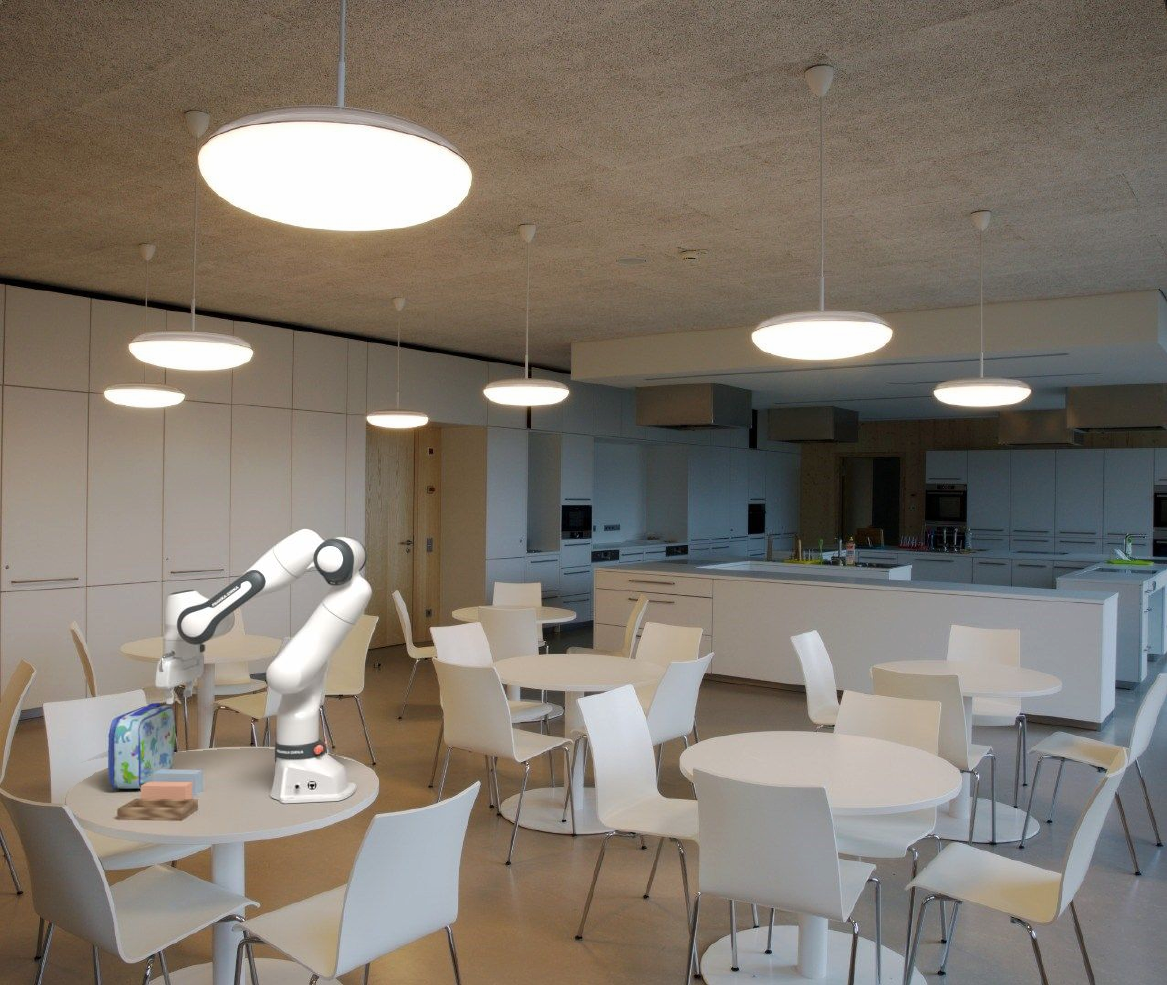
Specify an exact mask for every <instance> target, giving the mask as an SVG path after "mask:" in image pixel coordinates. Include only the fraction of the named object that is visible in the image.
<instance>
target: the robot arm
mask: <svg viewBox="0 0 1167 985" xmlns="http://www.w3.org/2000/svg"><path fill="white" fill-rule="evenodd" d="M367 560H368V552H367V549H366V546H365V545H364V544H363V543H362V542H361V541H360V540H358V539H356V538H353V537H347V536H346V537H344V536H337V537H334V538H328V539H326V540H324V539H323V538H321V536H320V535H319V534H318V533H317V532H315V531H314V530H311V529H309V528H302V529H299V530H298V531H296V532H293V533H291V534H290V535H288V536H287V537H285V538H284V539H282V540H280V541H279V542H277V543H276V544H275V545H274V546H273V547H271V548H270V549H268V550H267V551H266V552H265V553H264V554H263V555H262V556H261V557H260V558H258V559H257V560H256V561H255V562H254V564H252V565H251V566H250V567H249V568H248V569H247V570H246V571H245V572H244V573H243V574H242V575H240V576H239V577H238V578H237V579H236V580H234V581H233V582H232V583H230V584H229V585H227V586H226V587H225V588H223V589H222V590H221V591H219V592H217V594H215V595H213V597H211V598H208V597H205V596H203V595H202V594H200V593H199V591H198V590H196V589H195V590H194V589H187V590H180V591H174V592H172V593H170V594H168V596H167V597H166V600H165V603H164V604H165V605H164V615H163V625H164V631H165V632H164V634H163V638H162V643H163V644H162V656H161V658H160V660H159V661H158V662H157V666H156V672H155V679H154V680H155V681H154V682H155V684H154V685H155V688H156V689H157V690H163V693H164V695H165V698H166V699H165V703H166V704H167V705H173V704H174V703H176V696H175V695H174V691H175V687H178V686H182V685H184V684H185V687H184V689H183V692H182V693H183V694H182V696H183V697H184V698H189V697H192V695H193V689H194V686H195V683H196V682H195V681H196V679H200V678H202V676H203V673H204V669H205V668H204V666H205V654H204V653H205V652H206V649H207V646H206V642H207V641H209V640H213V639H218V638H219V637H222V636H224V635H226V634H228V633H229V632H230V631H231V630H232V629H233V627H234V625H235V613H234V612H235V611H237V609H239V608H241V607H242V606H243V605H245V604H246V603H248V602H250V601H251V600H254V599H257V598H258V597H262V596H265V595H268V594H272V593H276V592H279V591H280V590H283V589H285V588H287V587H289V586H290V585H292V584H293V583H295V582H297V581H298V580H299V579H300V578H301V577H302V576H304V575H305V574H307V573H308V572H309V571H311V570H312V569H314V568H315V569H316V570H317V571H318V573H319V574H320V575H321V576H322V577H323V579H324V580H325V581H326V583H327V584H328V585H329V586H330V589H329V590H328V591H327V593H326V594H325V596H324V597H323V598H322V600H321V602H320V603H319V604H318V606H316V608H315V610H314V611H313V612H312V614H311V616H310V617H309V618H308V619H307V621H306V622H305V623H304V625H303V626H302V627H301V628H300V629H299V631H298V632H297V633H295V635H294V636H293V637H292V638H291V639H290V640H289V642H288V643H287V644H286V645H285V646H284V648H283V649H282V650H281V651H280V652H279V653H278V655H277V656H276V657H275V659H274V660H273V661H272V662H271V663H270V664H269V666H268V668H267V670H266V674H265V675H266V682H267V684H268V686H269V688H270V689H271V690H273V691H274V692H275V693H277V694H281V699H280V702H279V706H278V708H277V712H276V741H275V742H274V763H275V769H274V777H273V781H272V782H273V783H272V787H271V791H270V793H269V796H270V797H271V798H272V799H275V800H278V801H279V802H280V803H281V804H300V803H319V802H321V803H322V802H323V803H324V802H338V801H342V800H345V799H347V798H349V797H351V796H352V795H353V794H355V792H356V790H357V784H356V783H355V782H349V777H348V772H347V769H346V766H344V765H343V764H341V763H340V762H339V761H338V760H336V759H335V758H334V757H332V756H331V755H329V754H328V753H327V746H328V741H327V740H326V741H323V740H322V739H320V736H319V735H320V706H321V701H322V700H321V699H322V695H323V688H324V681H325V676H326V674H325V673H326V671H327V668H328V660H329V659H330V657H332V655H334V653H335V652H336V651H337V650H338V649H339V648H340V646H341V645H342V643H343V642H344V641H345V639H346V638H347V637H348V635H349V634H350V632H351V631H352V630H353V628H354V627H355V625H356V624H357V623H358V621H359V620H360V618H361V616H362V615H363V614H364V612H365V610H366V608H367V606H368V604H369V602H370V600H371V597H372V594H373V589H372V587H371V585H370V583H369V582H368V581H367V580H366V579H365V578H364V577H362V575H361V574H360V572H361V570H363V569H364V567H365V566H366V563H367Z"/></svg>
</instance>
